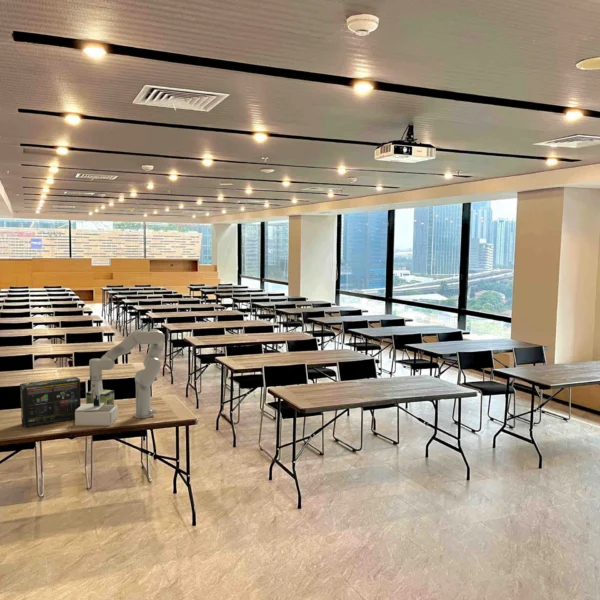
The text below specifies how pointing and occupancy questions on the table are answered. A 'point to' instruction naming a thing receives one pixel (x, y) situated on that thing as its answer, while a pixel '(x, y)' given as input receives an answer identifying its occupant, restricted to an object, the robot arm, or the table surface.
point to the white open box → (97, 416)
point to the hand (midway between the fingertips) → (96, 405)
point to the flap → (90, 406)
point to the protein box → (102, 397)
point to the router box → (49, 401)
